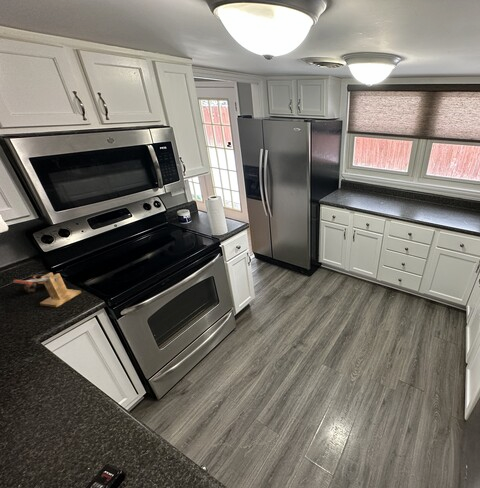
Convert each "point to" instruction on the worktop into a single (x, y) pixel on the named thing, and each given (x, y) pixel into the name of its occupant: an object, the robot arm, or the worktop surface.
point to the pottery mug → (33, 284)
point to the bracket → (57, 291)
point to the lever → (31, 280)
